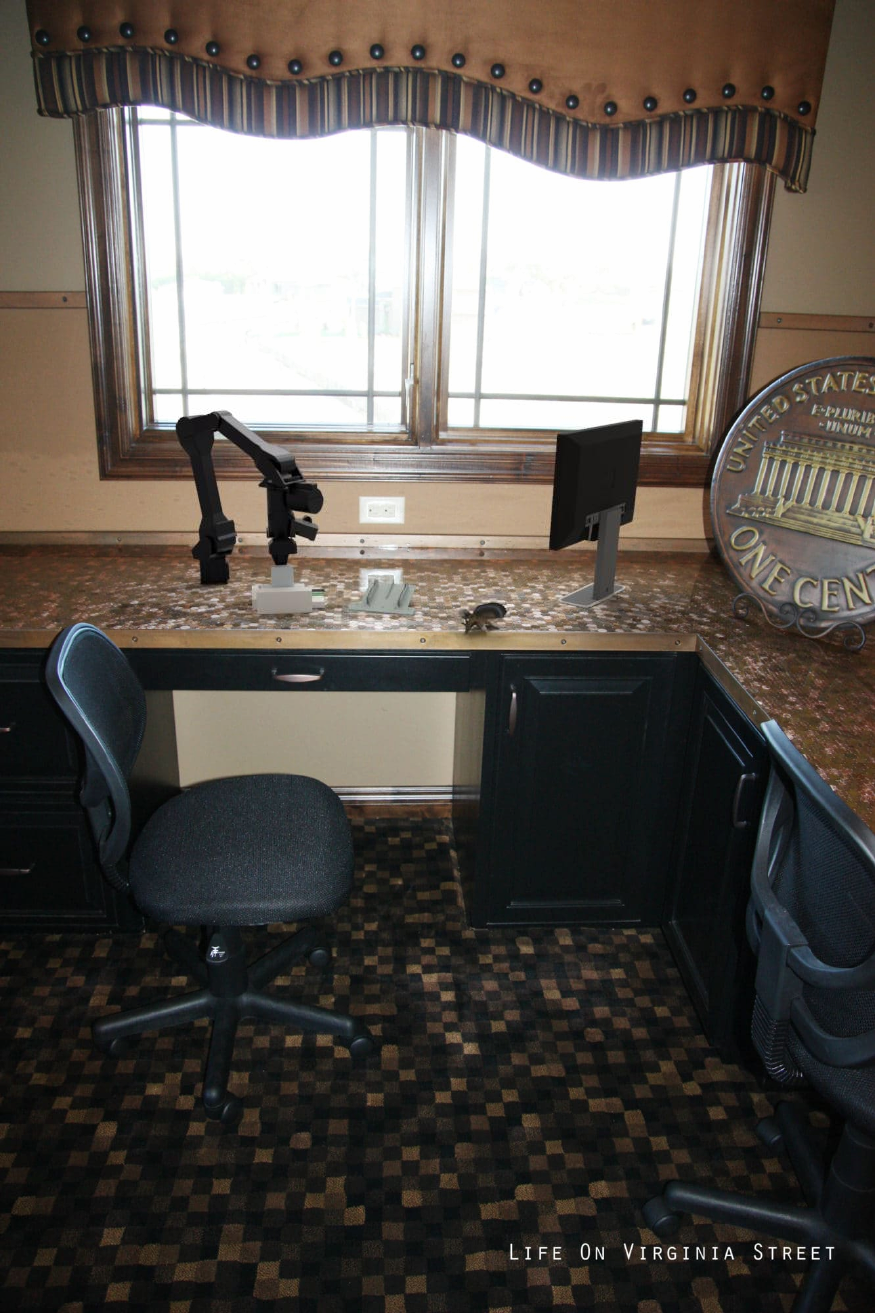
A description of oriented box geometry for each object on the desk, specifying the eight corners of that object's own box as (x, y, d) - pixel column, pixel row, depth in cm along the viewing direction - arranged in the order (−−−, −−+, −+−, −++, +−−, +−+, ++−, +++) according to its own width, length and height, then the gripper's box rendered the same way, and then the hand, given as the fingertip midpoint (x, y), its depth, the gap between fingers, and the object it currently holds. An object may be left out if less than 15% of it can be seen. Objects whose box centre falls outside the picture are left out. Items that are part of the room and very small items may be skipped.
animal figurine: (483, 636, 189) (513, 620, 193) (467, 605, 188) (498, 590, 193) (464, 645, 195) (494, 630, 200) (449, 615, 195) (480, 601, 200)
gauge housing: (252, 614, 201) (251, 592, 199) (252, 595, 214) (251, 575, 212) (325, 611, 204) (325, 590, 202) (320, 593, 217) (320, 573, 215)
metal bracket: (362, 572, 215) (424, 577, 212) (364, 593, 218) (425, 598, 216) (345, 606, 204) (411, 612, 201) (348, 627, 207) (412, 633, 205)
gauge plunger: (261, 602, 208) (260, 570, 205) (261, 597, 211) (259, 565, 209) (325, 600, 211) (324, 568, 208) (324, 595, 214) (323, 564, 212)
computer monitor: (612, 574, 240) (628, 418, 226) (642, 580, 236) (660, 421, 221) (535, 611, 209) (547, 432, 194) (568, 619, 204) (583, 436, 190)
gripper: (319, 516, 200) (320, 585, 205) (312, 499, 217) (314, 563, 222) (267, 517, 198) (270, 587, 203) (264, 500, 215) (267, 565, 220)
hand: (282, 575), depth 212 cm, fingers closed
